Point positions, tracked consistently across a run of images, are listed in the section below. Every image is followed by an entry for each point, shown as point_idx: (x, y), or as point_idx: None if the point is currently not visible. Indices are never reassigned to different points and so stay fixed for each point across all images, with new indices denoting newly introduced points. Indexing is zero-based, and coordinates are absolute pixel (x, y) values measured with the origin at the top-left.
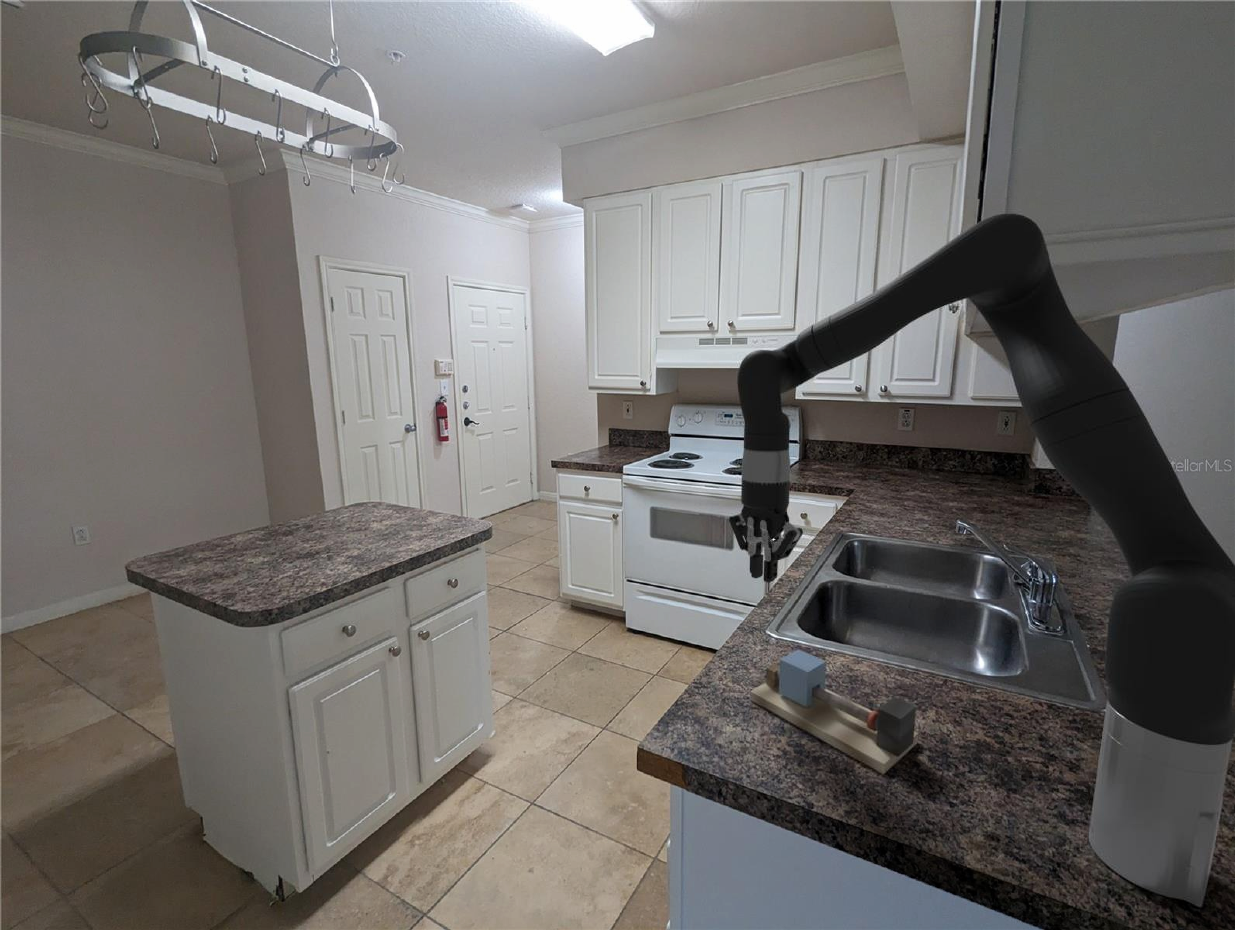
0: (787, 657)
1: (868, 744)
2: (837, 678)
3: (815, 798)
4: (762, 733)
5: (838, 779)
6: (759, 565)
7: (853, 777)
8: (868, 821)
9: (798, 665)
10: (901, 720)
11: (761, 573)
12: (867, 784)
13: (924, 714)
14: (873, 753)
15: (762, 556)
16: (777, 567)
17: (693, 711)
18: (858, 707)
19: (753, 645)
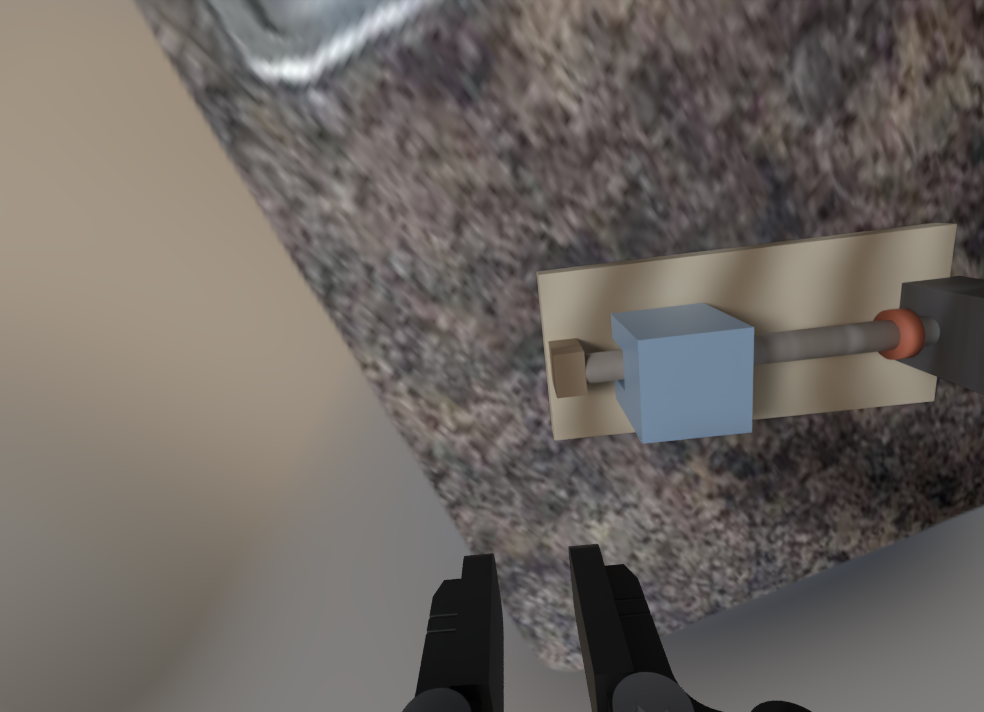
0: (649, 414)
1: (878, 371)
2: (623, 127)
3: (840, 539)
4: (656, 489)
5: (847, 470)
6: (497, 650)
7: (866, 442)
8: (936, 509)
9: (707, 424)
10: None
11: (495, 575)
12: (896, 436)
13: (897, 71)
14: (900, 388)
15: (488, 680)
16: (656, 631)
17: (506, 554)
18: (857, 341)
19: (323, 199)
